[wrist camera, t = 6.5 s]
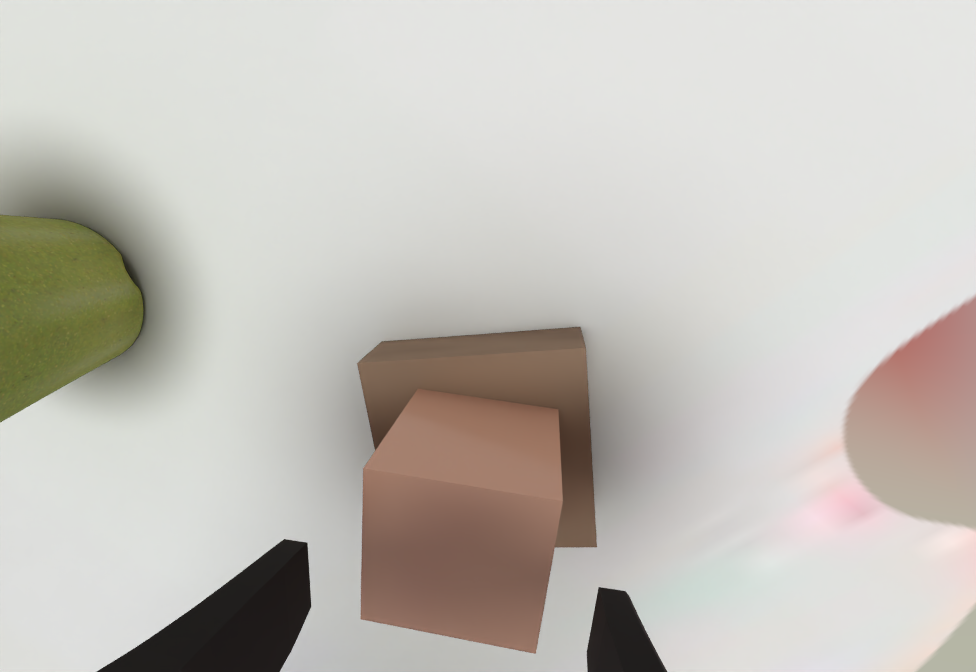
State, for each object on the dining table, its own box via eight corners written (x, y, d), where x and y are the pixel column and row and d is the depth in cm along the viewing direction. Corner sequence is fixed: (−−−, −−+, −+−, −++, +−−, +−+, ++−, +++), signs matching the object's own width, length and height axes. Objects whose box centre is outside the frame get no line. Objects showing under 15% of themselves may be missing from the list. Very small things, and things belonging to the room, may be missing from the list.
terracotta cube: (539, 527, 17) (535, 653, 12) (411, 505, 18) (360, 619, 13) (558, 409, 16) (563, 501, 11) (417, 388, 16) (363, 468, 11)
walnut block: (589, 497, 20) (596, 547, 17) (415, 500, 21) (395, 547, 18) (579, 323, 18) (585, 347, 15) (385, 338, 19) (357, 363, 16)
